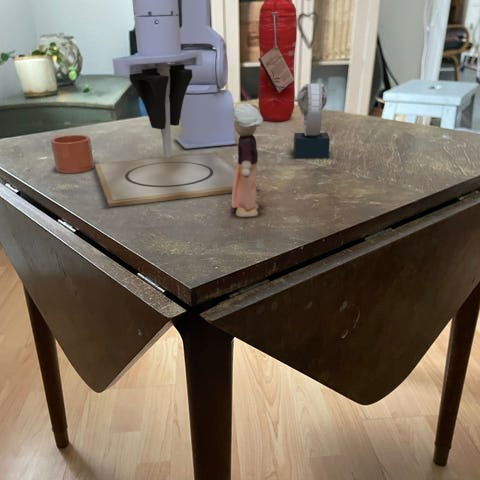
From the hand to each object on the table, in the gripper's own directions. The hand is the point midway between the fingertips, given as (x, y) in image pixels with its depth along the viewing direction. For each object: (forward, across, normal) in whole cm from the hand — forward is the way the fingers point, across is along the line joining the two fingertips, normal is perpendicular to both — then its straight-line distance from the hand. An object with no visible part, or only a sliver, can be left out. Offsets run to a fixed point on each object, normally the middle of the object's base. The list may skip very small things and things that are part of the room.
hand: (165, 126), depth 76 cm
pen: (+5, 0, 0) cm, 5 cm away
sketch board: (+7, 0, 0) cm, 7 cm away
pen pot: (+7, +4, -17) cm, 19 cm away
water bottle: (+8, -44, -12) cm, 46 cm away
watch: (+8, -24, +10) cm, 27 cm away
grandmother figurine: (+8, +5, +18) cm, 20 cm away
